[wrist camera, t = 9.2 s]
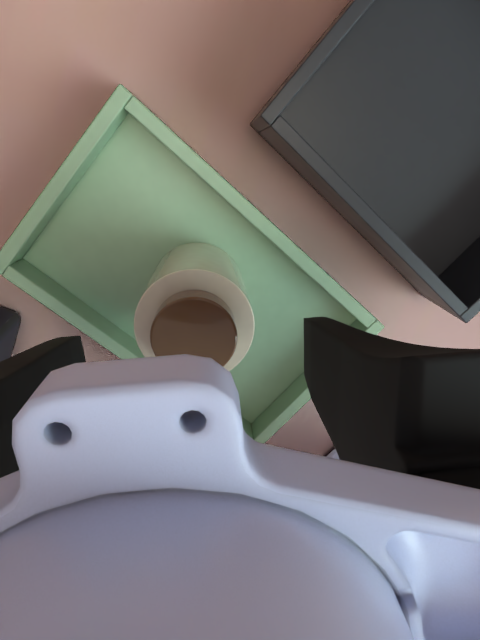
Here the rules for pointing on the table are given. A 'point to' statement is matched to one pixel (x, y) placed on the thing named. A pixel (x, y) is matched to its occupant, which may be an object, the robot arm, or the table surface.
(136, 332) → the spice jar
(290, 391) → the tray
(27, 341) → the table surface
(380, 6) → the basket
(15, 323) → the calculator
